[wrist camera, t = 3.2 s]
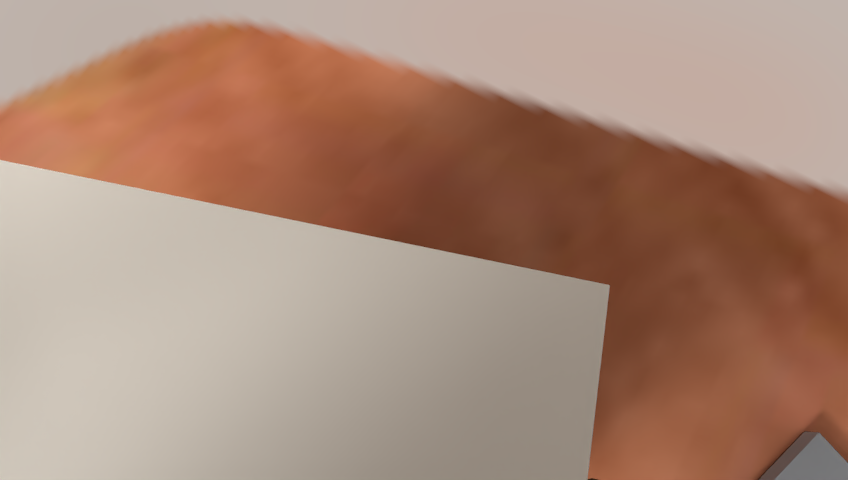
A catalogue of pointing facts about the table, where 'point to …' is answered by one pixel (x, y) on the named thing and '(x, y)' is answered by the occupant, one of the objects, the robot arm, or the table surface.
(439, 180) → the table surface
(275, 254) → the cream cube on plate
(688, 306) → the table surface
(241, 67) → the table surface
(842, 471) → the mat
